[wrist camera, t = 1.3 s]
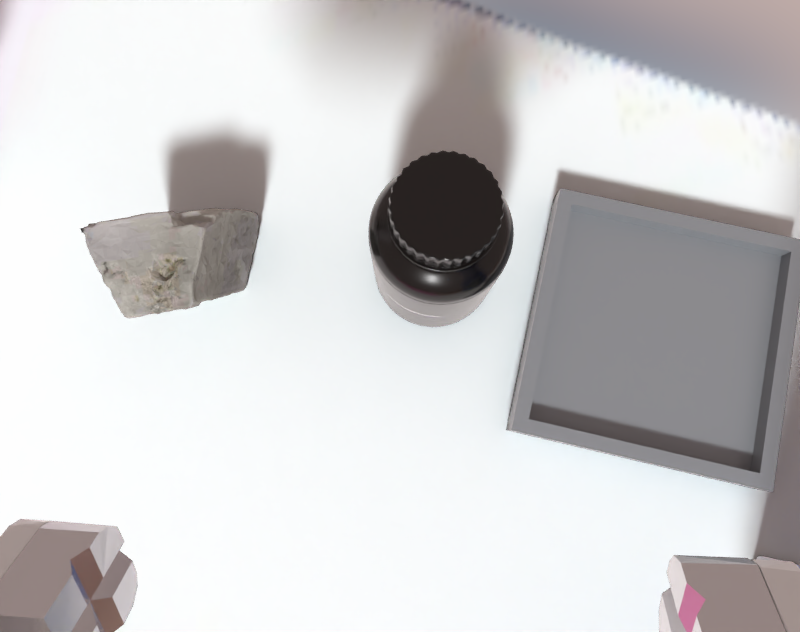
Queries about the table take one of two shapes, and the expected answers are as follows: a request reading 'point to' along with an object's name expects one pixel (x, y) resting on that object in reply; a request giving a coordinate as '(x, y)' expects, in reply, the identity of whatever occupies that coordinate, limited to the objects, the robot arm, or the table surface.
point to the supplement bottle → (439, 238)
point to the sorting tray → (660, 339)
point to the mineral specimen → (173, 257)
